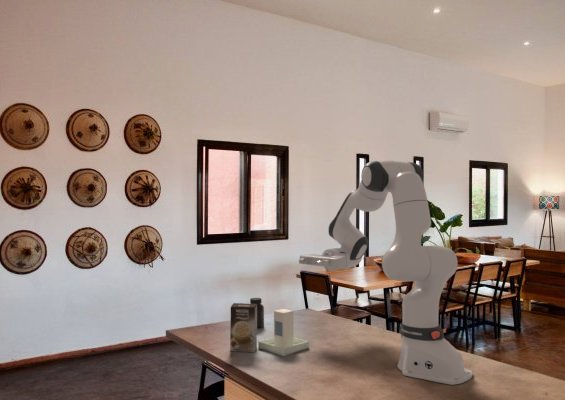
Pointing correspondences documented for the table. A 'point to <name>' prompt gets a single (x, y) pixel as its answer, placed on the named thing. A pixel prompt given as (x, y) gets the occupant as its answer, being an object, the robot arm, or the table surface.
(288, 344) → the box
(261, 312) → the supplement bottle
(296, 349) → the tray
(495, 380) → the table surface
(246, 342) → the coffee box
